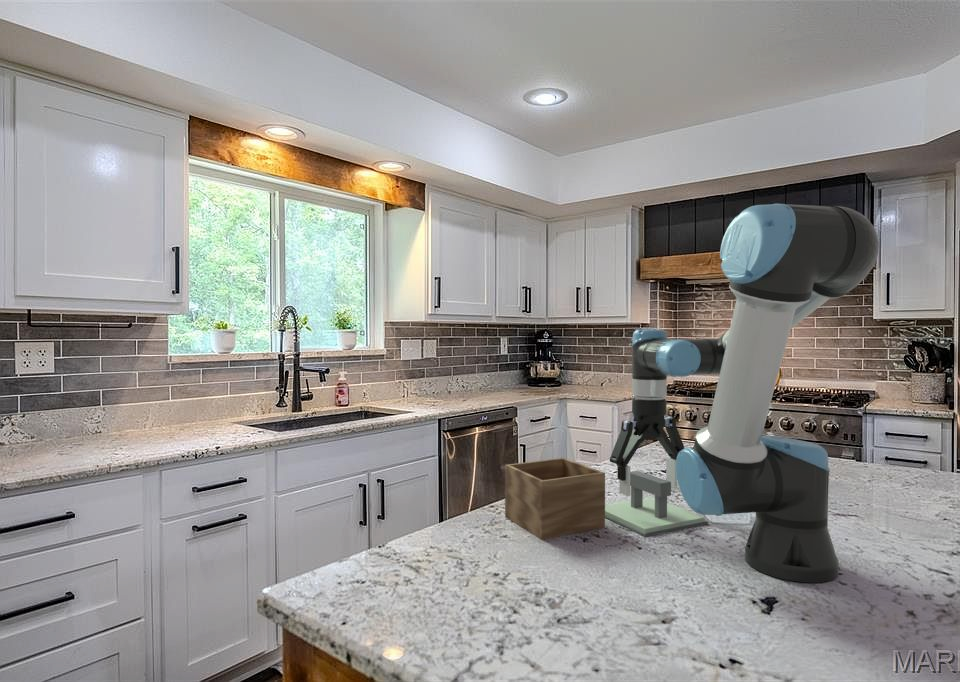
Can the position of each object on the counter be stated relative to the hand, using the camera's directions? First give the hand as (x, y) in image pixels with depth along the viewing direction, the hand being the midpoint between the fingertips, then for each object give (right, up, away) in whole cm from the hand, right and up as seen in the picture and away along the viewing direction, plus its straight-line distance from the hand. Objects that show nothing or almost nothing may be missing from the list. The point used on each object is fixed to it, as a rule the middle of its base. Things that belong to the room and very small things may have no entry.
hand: (648, 490), depth 135 cm
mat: (0, -6, 0) cm, 6 cm away
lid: (0, -6, 0) cm, 6 cm away
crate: (-22, -6, -3) cm, 23 cm away
